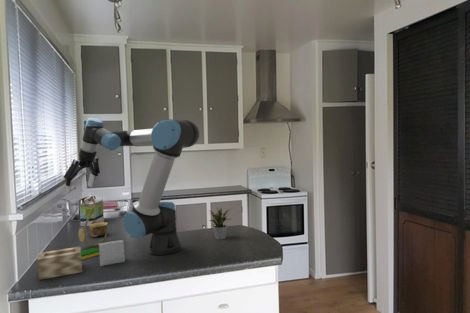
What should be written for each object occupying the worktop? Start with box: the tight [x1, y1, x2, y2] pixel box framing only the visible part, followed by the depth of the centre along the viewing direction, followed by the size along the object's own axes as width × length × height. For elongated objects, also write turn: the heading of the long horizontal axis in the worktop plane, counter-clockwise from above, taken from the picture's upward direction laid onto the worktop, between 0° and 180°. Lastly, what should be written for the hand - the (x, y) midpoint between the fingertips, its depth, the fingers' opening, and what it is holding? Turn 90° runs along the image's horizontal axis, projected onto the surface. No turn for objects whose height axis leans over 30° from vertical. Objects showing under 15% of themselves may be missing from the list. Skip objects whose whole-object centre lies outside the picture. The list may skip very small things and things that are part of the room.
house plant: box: [208, 207, 232, 240], centre depth 187 cm, size 14×14×16 cm
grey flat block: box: [98, 239, 126, 267], centre depth 158 cm, size 10×3×9 cm, turn 113°
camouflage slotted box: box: [37, 245, 83, 281], centre depth 150 cm, size 16×10×8 cm
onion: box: [89, 221, 108, 238], centre depth 208 cm, size 10×9×10 cm
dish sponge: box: [81, 247, 100, 261], centre depth 170 cm, size 7×14×2 cm, turn 142°
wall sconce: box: [78, 197, 109, 247], centre depth 187 cm, size 14×10×25 cm
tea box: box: [79, 199, 105, 227], centre depth 243 cm, size 15×10×15 cm, turn 179°
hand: (79, 188), depth 180 cm, fingers open, 13 cm apart
